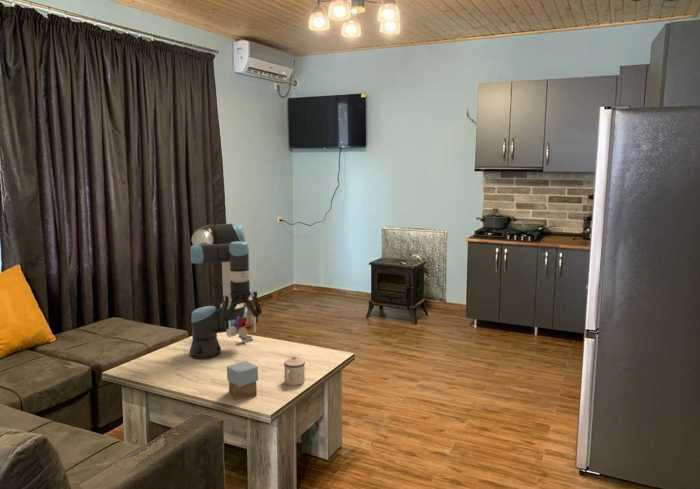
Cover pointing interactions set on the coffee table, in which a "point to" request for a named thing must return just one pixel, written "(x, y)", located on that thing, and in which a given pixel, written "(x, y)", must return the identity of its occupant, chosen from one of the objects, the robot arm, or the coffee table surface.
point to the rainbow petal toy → (240, 327)
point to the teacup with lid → (294, 371)
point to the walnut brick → (242, 391)
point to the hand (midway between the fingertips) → (241, 333)
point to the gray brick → (242, 373)
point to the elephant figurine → (246, 338)
